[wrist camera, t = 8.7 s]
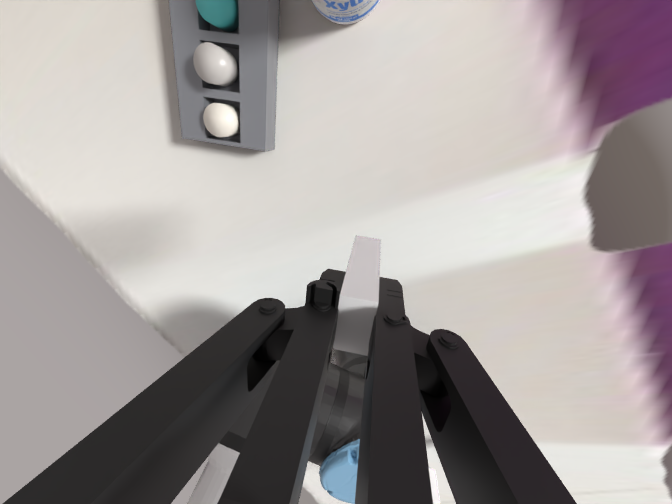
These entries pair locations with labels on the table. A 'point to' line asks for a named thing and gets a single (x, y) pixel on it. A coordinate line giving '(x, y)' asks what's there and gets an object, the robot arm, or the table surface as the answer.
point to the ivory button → (222, 120)
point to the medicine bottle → (434, 486)
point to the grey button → (215, 64)
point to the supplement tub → (345, 9)
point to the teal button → (220, 13)
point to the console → (253, 71)
